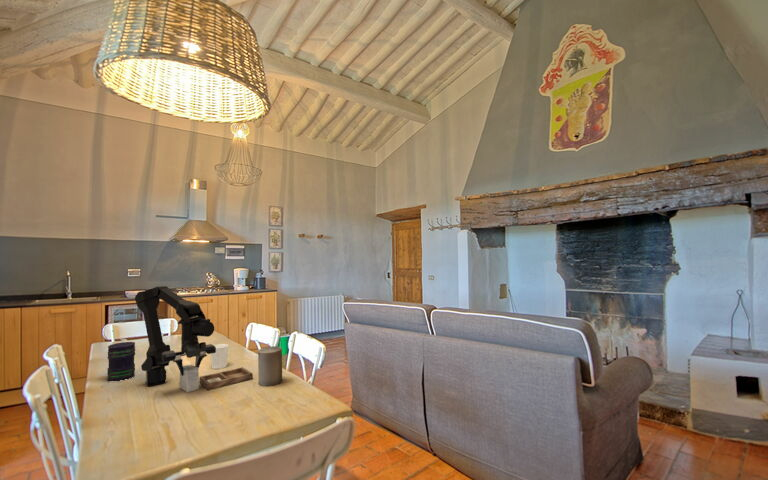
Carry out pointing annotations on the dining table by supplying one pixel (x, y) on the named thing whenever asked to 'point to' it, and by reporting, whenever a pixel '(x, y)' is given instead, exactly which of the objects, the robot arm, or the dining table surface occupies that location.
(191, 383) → the medicine box
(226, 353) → the white cup
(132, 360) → the storage jar
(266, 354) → the pillar candle
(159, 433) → the dining table surface
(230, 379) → the tray
